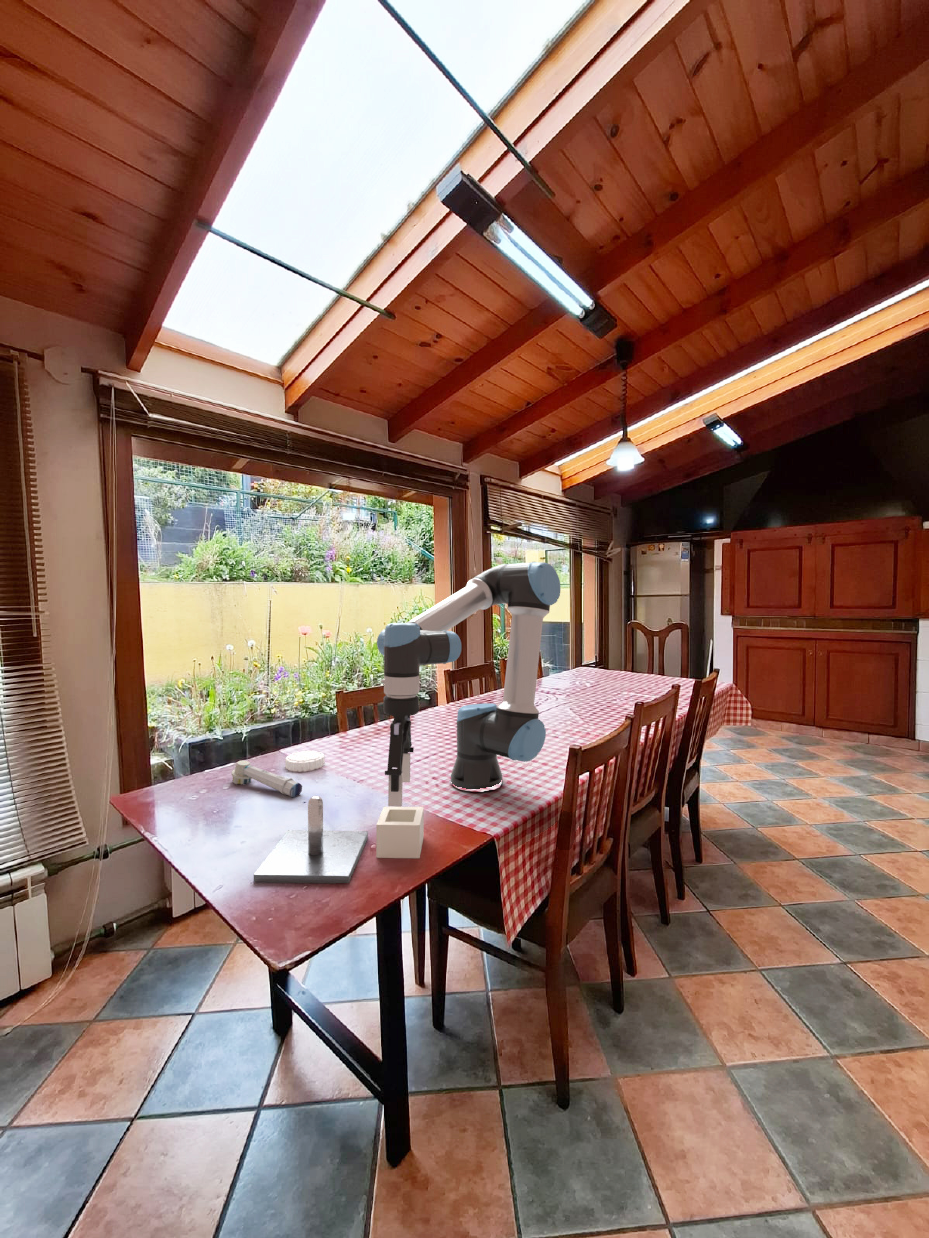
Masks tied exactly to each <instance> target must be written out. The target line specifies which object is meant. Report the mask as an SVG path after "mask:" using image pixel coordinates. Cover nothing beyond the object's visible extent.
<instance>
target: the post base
mask: <svg viewBox="0 0 929 1238" xmlns="http://www.w3.org/2000/svg"><path fill="white" fill-rule="evenodd" d="M368 838H369V831H365V830H363V831H361V830H359V831H357V830H356V831H355V830H324V801H323V798H322V797H320V796H318V795H314V796H312V797H310V798H309V799H308V802H307V830H289V829H288V830H287V831H286V833H285V834H284V835H283V836H282V837H281V839H280V840H279V841H278V843H277V844H276V846H274V848H273V849H272V850H271V852H270V853H269V854H268V856H267V857H266V858H265V859H264V861H263V862H262V863H261V865H260V866H259V867H258V868H257V870H255V872H254V873H253V883H264V884H265V883H270V884H272V883H273V884H274V883H276V884H285V883H286V884H336V883H350V881H351V879H352V877H353V874H354V871H355V870H356V867H357V864H358V863H359V860H360V857H361V855H362V853H363V851H364V848H365V845H366V843H367V841H368ZM354 869H355V870H354ZM351 876H352V877H351Z"/></svg>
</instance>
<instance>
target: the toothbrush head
mask: <svg viewBox="0 0 929 1238" xmlns="http://www.w3.org/2000/svg"><path fill="white" fill-rule="evenodd" d="M231 777H232V779H231V780H232V782H233V784H235V785H242V784H243V785H248V784H250V783H251V782H252V780H255V781H257V782H258V783H261V784H264V785H265V786H268V787H269V788H271V789H274V790H276V791H277V792H280V793H281V794H282V795H284V796H288V797H291V798H296V797H298V796H300V794H301V793H302V791H303V785H302V784H301V783H300V782H297V781H295V780H294V779H293V778H292V777H285V776H283V775H279V774H277V773H274V772H272V771H271V772H270V771H268V770H265V769H263V768H262V769H261V768H260V767H256V766H254V765H251V762H250V761H247V760H239V761H237V762H236V764H235V768H234V769H233V770H232V771H231Z"/></svg>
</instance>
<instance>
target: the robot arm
mask: <svg viewBox="0 0 929 1238" xmlns="http://www.w3.org/2000/svg"><path fill="white" fill-rule="evenodd" d="M561 588H562V587H561V581H560V577H559V575H558V572H557V571H556V569H555V568H554V566H552V565H551V564H549V563H547V562H543V561H542V562H540V561H531V562H516V563H502V564H499V565H496V566H493V567H490V568H489V569H486V570H484V571H483V572H481V573H479V574H477V575H476V576H474V577H473V578H471V579H469V580H468V581H467V583H466V585H465V587H463V588H461V589H459V590H458V591H456V592H455V593H453V594H451V595H450V596H448V597H446V598H445V599H443V600H442V601H439V602H438V603H436V604H434V605H433V606H432V607H430V608H428V609H426V610H425V611H423V612H422V613H420V614H418V615H417V616H415V617H413V618H412V619H410V620H408V621H407V622H391V623H388V624H386V626H385V628H384V629H382V630H381V631H380V632H379V634H378V636H377V640H376V647H377V649H378V652H379V653H380V654H381V655H382V656H383V675H384V676H383V678H382V679H381V681H380V683H381V684H383V685H384V686H383V694H384V695H385V696H384V697H383V704H382V705H383V709H382V710H383V714H385V715H387V716H390V717H391V716H392V717H393V720H392V722H391V723H390V727H389V729H390V732H389V733H390V734H389V746H388V747H389V749H388V759H387V768H386V769H387V770H384V775H385V776H388V785H387V786H388V787H387V788H388V789H387V790H388V798H387V800H388V801H387V803H388V804H387V807H403V783H411V753H414V751H415V750H414V749H415V748H414V746H413V747H412V745H413V743H412V732H411V731H412V730H411V729H412V720H411V716H412V717H413V716H414V715H417V714H418V713H419V708H420V698H419V696H418V694H419V693H420V666H426V665H427V666H429V665H440V664H443V665H446V664H448V663H454V662H455V661H456V660H458V658H460V655H461V653H462V641H461V639H460V636H459V635H458V634H457V633H456V632H455V631H452V630H450V629H453V628H454V627H455V626H457V625H459V623H461V622H463V621H464V620H466V619H467V618H469V617H470V616H472V615H473V614H475V613H476V612H478V611H479V610H487V609H489V608H490V607H493V606H495V605H496V606H497V605H503V604H505V605H507V610H508V611H509V612H510V614H511V624H510V630H509V631H510V632H509V642H508V652H507V659H506V669H505V678H504V679H505V680H504V687H503V697H502V702H500V703H498V704H496V703H491V702H490V703H488V702H487V703H475V704H474V703H473V704H467V705H463V706H461V707H460V708H459V709H458V710H457V720H456V759H455V762H454V764H453V768H452V771H451V774H450V783H451V782H452V784H454V785H455V786H457V787H462V788H466V789H480V788H486V787H492V786H494V785H496V784H499V783H500V782H501V780H502V781H503V773H502V770H501V767H500V764H499V761H498V758H497V757H498V756H500V757H504V758H507V759H509V760H512V761H518V762H523V763H525V762H526V763H528V762H530V761H532V760H533V759H535V758H536V757H537V756H538V755H539V753H540V752H541V751H542V748H543V746H544V744H545V741H546V736H547V734H546V732H547V730H546V727H545V724H544V722H543V721H542V720H540V719H539V716H540V715H539V713H540V711H539V710H538V708H537V707H536V706H535V698H536V688H537V680H538V678H537V677H538V670H539V661H540V660H539V659H540V653H541V652H540V651H541V643H542V642H541V641H542V632H543V631H542V630H543V623H544V618H545V617H546V616H547V615H548V614H549V613H550V608H551V606H552V605H555V604H556V603H557V602H558V600H559V599H560V597H561Z"/></svg>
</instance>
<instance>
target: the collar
mask: <svg viewBox="0 0 929 1238" xmlns="http://www.w3.org/2000/svg"><path fill="white" fill-rule="evenodd" d="M424 813H425V809H424V806H402V807H393V806H383V808H382V810H381V813H380V815H379V817H378V820H377V822H376V827H375V828H376V831H375V832H376V835H375V837H376V839H375V840H376V841H375V842H376V846H375V848H376V849H375V850H376V855H375V857H376V858H377V859H420V858H421V853H422V848H423V842H424V831H425V830H424V827H425V826H424V823H425V821H424V819H425V818H424V817H425V814H424Z"/></svg>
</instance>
